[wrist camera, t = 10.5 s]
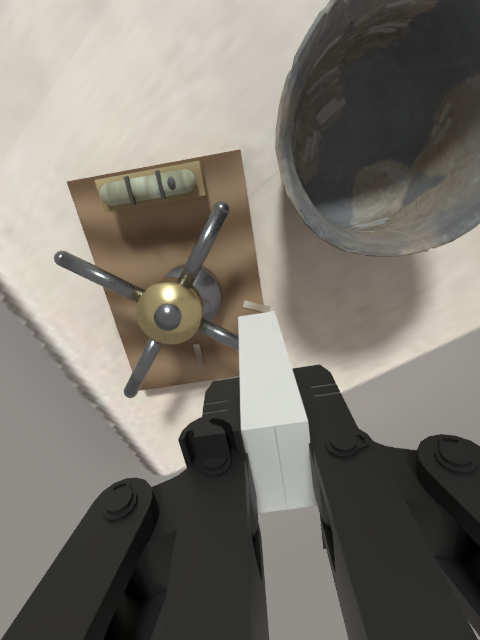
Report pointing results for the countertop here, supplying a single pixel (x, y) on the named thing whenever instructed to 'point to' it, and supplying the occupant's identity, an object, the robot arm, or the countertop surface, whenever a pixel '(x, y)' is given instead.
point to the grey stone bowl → (385, 125)
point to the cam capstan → (169, 298)
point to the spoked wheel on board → (173, 252)
